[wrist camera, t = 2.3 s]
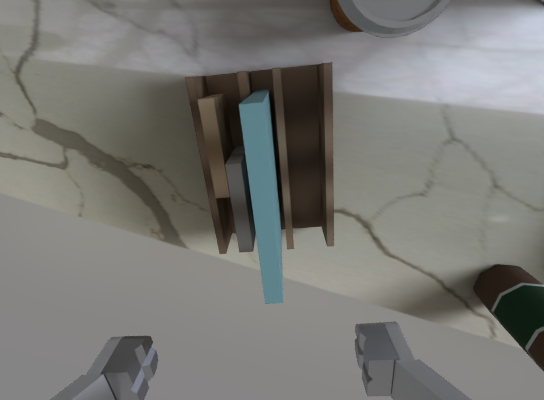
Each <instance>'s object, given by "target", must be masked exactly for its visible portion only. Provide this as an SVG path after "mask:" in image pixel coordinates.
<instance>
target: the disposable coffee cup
mask: <svg viewBox="0 0 544 400" xmlns="http://www.w3.org/2000/svg"><path fill="white" fill-rule="evenodd" d="M450 1H451V0H330V5H331V10H332V13H333V15H334V17H335V19H336V21H337V22H338V23H339V24H340V25H341V26H342V27H343V28H345V29H347V30H349V31H354V32H366V33H369V34H371V35H374V36H377V37H385V38H394V37H400V36H405V35H408V34H410V33H413V32H415V31H417V30H420V29H422V28H423V27H425V26H426V25H427V24H429V23H430V22H432V21H433V20H434V19H435V18H436V17H437V16H438V15H439V14H440V13H441V12H442V11H443V10H444V9H445V8H446V7H447V5H448V4H449V3H450Z"/></svg>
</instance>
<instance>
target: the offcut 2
mask: <svg viewBox="0 0 544 400" xmlns="http://www.w3.org/2000/svg"><path fill="white" fill-rule="evenodd" d="M225 167H226V173H227V179H228V185H229V191H230V197H231V203H232V209H233V215H234V222H235V228H236V234H237V240H238V246H239V252H252V251H253V249H254V241H255V234H256V230H255V223H254V215H253V208H252V200H251V193H250V185H249V178H248V170H247V163H246V155H245V148H244V145H238V146H236V147H235V149H234V150H233V152H232V154H231V156H230V157H229V159H228V161H227V163H226V164H225Z"/></svg>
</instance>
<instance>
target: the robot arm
mask: <svg viewBox="0 0 544 400" xmlns="http://www.w3.org/2000/svg"><path fill="white" fill-rule="evenodd" d="M541 1H543V2H544V0H541ZM355 332H356V335H357V338H356V340H355V351H356V357H357V362H358V365H359V367H360V368H361V369H362V380H363V383H364V387H365V390H366V394H367V396H391V397H392V399H393V400H471V399H470V398H469V397H468V396H466V395H465V394H464V393H462V392H461V391H460V390H459V389H457V388H456V387H454V386H453V385H452V384H451V383H449V382H448V381H447V380H445V379H444V378H443V377H442V376H440V375H439V374H438V373H437V372H435V371H434V370H433V369H431V368H430V367H429V366H428V365H426V364H425V363H424V362H422V361H421V360H419V359H415V358H414V355H413V354H412V351H411V349H410V347H409V346H408V344H407V341H406V339H405V337H404V335H403V333H402V331H401V329H400V327H399V325H398V323H396V322H383V323H366V324H356V326H355ZM152 343H153V341H152V338H151V336H124V337H112V338H110V339H109V340H108V342H107V343H106V344H105V346H104V348H103V349H102V351H101V352H100V354H99V355H98V357H97V358H96V360H95V361H94V363H93V365H92V366H91V368H90V369H89V371H88V372H87V374H86V375H82V376H80V377H79V378H78V379H76V380H75V381H74V382H73V383H71V384H70V385H69V386H67V387H66V388H65V389H63V390H62V391H61V392H59V393H58V394H57V395H55V396H54V397H53V398H51V399H50V400H144V398H145V396H146V394H147V391H148V389H149V386H148V381H149V380H150V379H151V378H152V377H153V376H154V374H155V371H156V369H157V363H158V357H157V356H158V355H157V352H156V350H155V349H154V348H152V347H151V346H152Z"/></svg>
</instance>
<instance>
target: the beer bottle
mask: <svg viewBox="0 0 544 400" xmlns="http://www.w3.org/2000/svg"><path fill="white" fill-rule="evenodd" d="M474 291H475V292H476V294H477V295H478V297H479V298H480V300H481V301H482V302H483V304H484V305H485V306H486V307H487V309H488V310H489V311H490V312H491V313H492V315H493V316H494V317H495V318H496V319H497V320H498V321H499V322H500V324H501V325H502V326H503V327H504V328H505V329H506V330H507V331H508V332H509V334H510V335H511V336H512V337H513V338H514V339H515V340H516V341H517V343H518V344H519V345H520V346H521V347H522V348H523V349H524V350H525V352H527V354H528V355H529V356H530V357H531V358H532V359H533V360H534V362H535V363H536V364H537V365H538V366H539V367H540V368H541V369H542V370H543V371H544V285H543V284H542V283H540V282H539V281H538V280H537V279H535V278H534V277H533V276H532V275H530V274H529V273H528V272H526V271H525V270H523V269H522V268H520V267H518V266H510V265H499V264H498V265H496V266H494V267H492V268H491V269H489V270H487V271H485V272H483V273H481V274H480V276H479V278H478V280H477V282H476V284H475V286H474Z"/></svg>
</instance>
